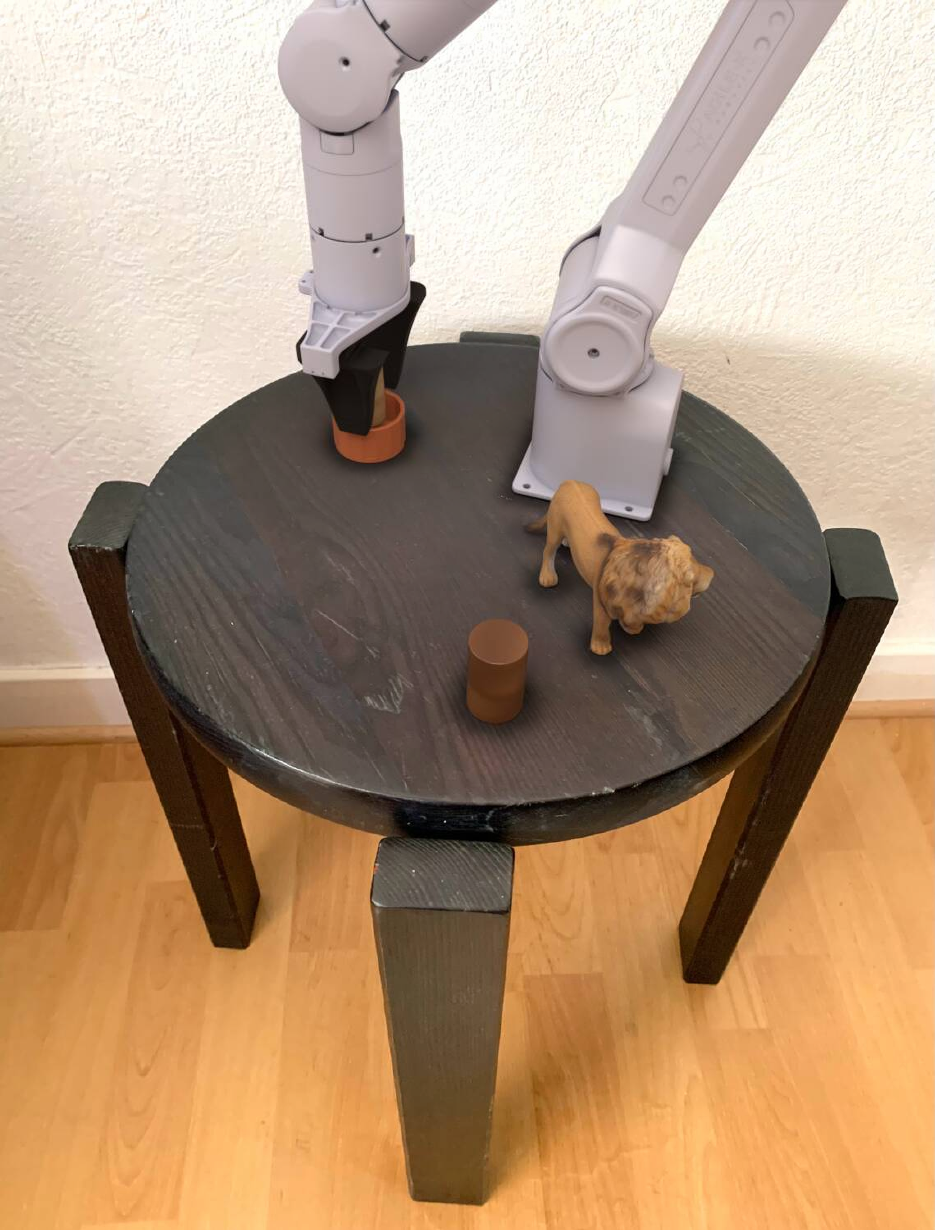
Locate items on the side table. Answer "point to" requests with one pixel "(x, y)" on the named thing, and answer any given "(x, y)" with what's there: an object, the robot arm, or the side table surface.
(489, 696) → the brown cylinder
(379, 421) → the pepper mill
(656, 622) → the lion figurine
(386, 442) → the terracotta crock
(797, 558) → the side table surface
